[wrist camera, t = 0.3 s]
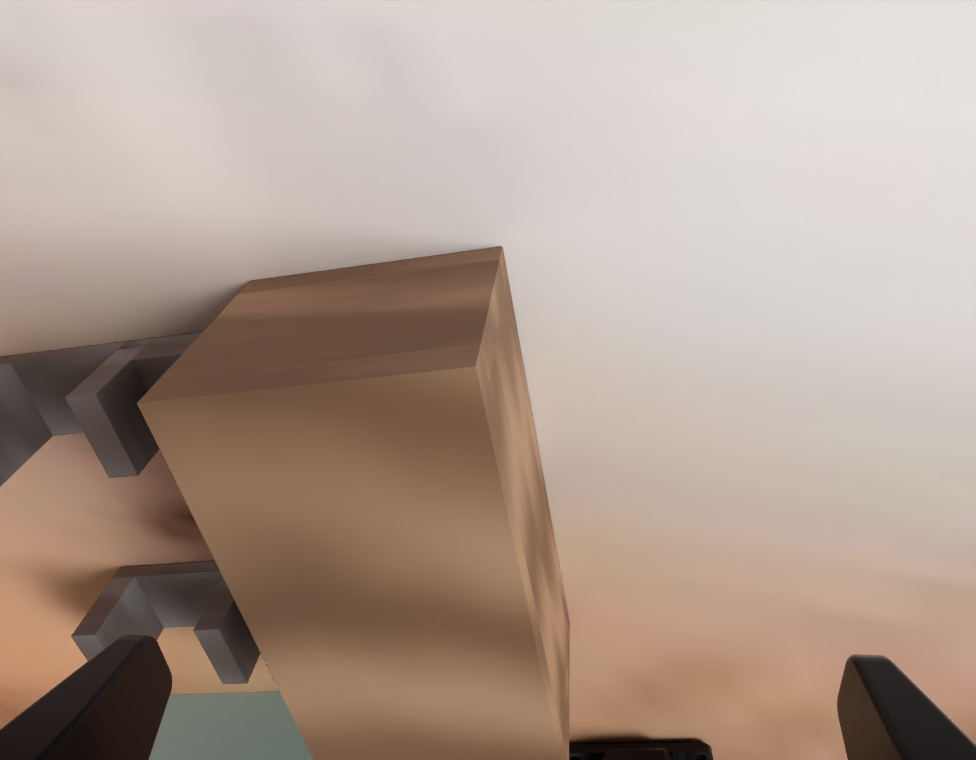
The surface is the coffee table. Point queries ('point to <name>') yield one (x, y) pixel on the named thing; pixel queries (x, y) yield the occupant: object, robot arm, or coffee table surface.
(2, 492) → the coffee table surface
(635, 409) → the coffee table surface
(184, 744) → the door
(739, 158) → the coffee table surface
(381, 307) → the brown legged block
